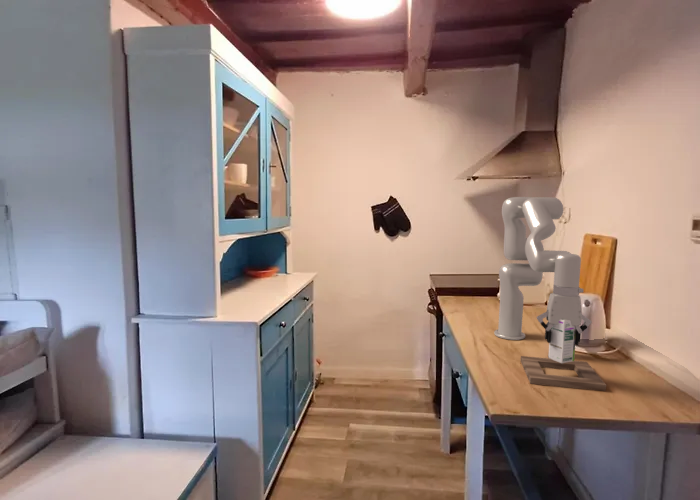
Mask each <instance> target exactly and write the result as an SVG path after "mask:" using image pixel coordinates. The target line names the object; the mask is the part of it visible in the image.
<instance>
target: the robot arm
mask: <svg viewBox="0 0 700 500" xmlns="http://www.w3.org/2000/svg"><path fill="white" fill-rule="evenodd" d="M562 202H563V201H561V200H560V199H559V198H557V197H549V196H548V197H545V196H544V197H543V196H542V197H541V196H537V197H535V196H534V197H532V196H513V197H509V198H507V199H505V200H504V201H503V202H502V205H501V206H502V207H501V216H502V221H503V224H504V225H503V226H504V236H503V237H504V238H503V255H504V257H505V259H507V260H510V261H528V263H521V262H519V263H517V262H516V263H515V262H514V263H513V262H511V263H506V264H503V265H501V266H500V268H499V269H498V279H499V289H500V290H499V313H498V328H497V329H495V330H494V332H493V333H494V335H495V336H496V337H497V338H500V339H504V340H508V341H509V340H511V341H516V340H517V341H521V340H523V339H526V333H525V332H522V330H523V328H522V327H523V314H524V294H523V293H522V290H520V288H519V287H535V286H539V285H540V284H541V282H542V280H543V276H544V275H543V274H544V273H554V274H553V275H554V276H553V288H552V293H551V292H550V294H549V297H548V301H547V306H546V311H544V312H543V313H541V314H539V315H538V316H536V320H537V321H538V322H539V324H540V325H541V327H543V328H544V329H545V331H544V339H545V340H546V341H547V343H548V344H549V343H550V342H551V331H550V329H551V328H552V327H553V325H558V323H559V320H560V319H565V320H570V321H571V325H572V326H575V328H576V340H575V346H578V345H579V343H580V342H581V337H582V336H581V334H583V332H584V331H586V329H587V328H588V327H589V326H590V325H591V324H592V320H591V319H589V318H588V317H587V316H585V315H584V314H582V313H583V310H582V298H581V296H580V294H583V293H584V288H581V287H580V280H581V279H580V276H581V275H580V274H581V265H582V264H581V262H582V261H581V260H582V259H581V257H580V255H578V254H574V253H571V252H569V251H567V250H550V249H549V250H545V249H544V245H543V242H542V241H543V240H546V239H548V238H550V237H552V236H553V235H554V233H555V232H556V227H557V226H556V225H555V222H554V221H555V220H559V219H560V218H562V216H563V214H564V204H563V203H562ZM522 219H525V221H526V223H524V221H523V220H522ZM526 224H527V226H528V228H529V231H530V234H529V235H528V237H527V227H526ZM544 319H546V321H547V322H546V323H545V322H544ZM582 321H584V323H582Z"/></svg>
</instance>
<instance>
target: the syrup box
mask: <svg viewBox="0 0 700 500" xmlns="http://www.w3.org/2000/svg"><path fill="white" fill-rule="evenodd" d="M550 331H551V342H550V343H548V355H547V356H548V358H550V359H552V360H554V361H557V362H559V363H566V362H572V361H575V355H576V354H575V352H576V344H575V340H576V328H575V326H572V325H571V321H570V320H565V319H560V320H559V323H558V325H553V327H552V328H551V329H550Z"/></svg>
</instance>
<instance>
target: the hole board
mask: <svg viewBox="0 0 700 500" xmlns="http://www.w3.org/2000/svg"><path fill="white" fill-rule="evenodd" d="M520 364H521V365H522V368H523V370H524V372H525V375H526V378H527V380H528V382H529V384H532V385H533V384H534V385H543V386H553V387H561V388H563V387H564V388H571V389H573V388H574V389H582V390H590V391H601V392H602V391H603V392H606V391H607V384H606V383H605V382H604V381H603V379H602V377H600V375H599V374H598V373H597V372H596V371H595V369H594V368H592V366H591V365H590V364H589V362H588V361H582V360H581V361H580V360H574V361H572V362H566V363H559V362H557V361H554V360H552V359H550V358H549V357H548V358H547V357H537V356H527V355H526V356H525V355H520ZM542 368H547V369H548V368H549V369H559V370H560V369H561V370H571V371H574V373H576V375H577V376H578V377H577V376H566V375H559V374H558V375H556V374H545V372H544V370H543V369H542Z"/></svg>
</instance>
